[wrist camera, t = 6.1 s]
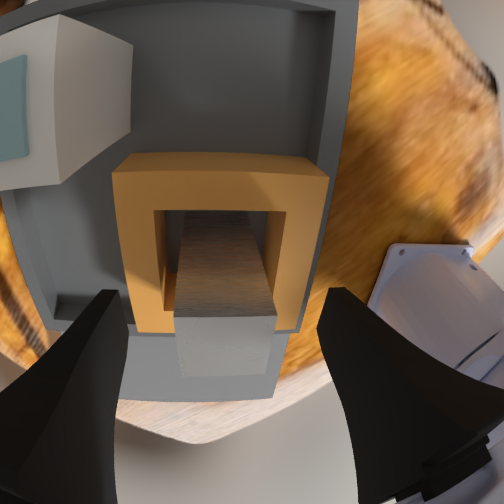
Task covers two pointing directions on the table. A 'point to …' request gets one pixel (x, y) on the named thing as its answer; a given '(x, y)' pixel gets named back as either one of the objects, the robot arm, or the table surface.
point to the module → (60, 99)
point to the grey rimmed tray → (195, 153)
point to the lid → (190, 388)
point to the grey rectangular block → (222, 298)
